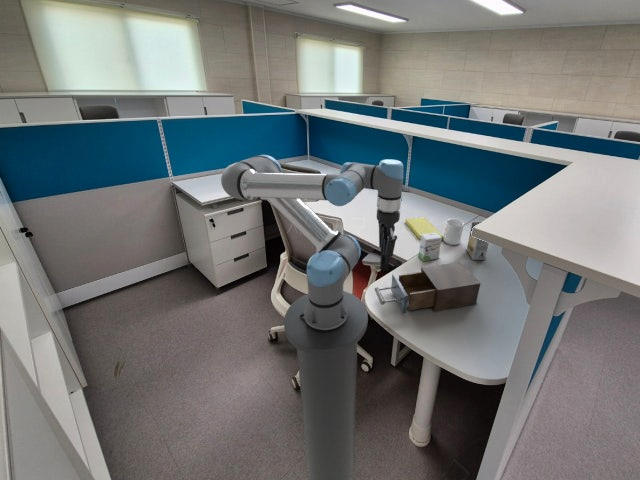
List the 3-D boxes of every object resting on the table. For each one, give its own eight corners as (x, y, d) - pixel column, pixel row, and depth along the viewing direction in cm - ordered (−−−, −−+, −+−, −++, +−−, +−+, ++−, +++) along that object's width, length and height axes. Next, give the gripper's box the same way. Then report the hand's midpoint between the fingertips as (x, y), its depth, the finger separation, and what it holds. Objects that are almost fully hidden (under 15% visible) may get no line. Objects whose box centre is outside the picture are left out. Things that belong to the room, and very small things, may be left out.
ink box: (423, 261, 141) (425, 239, 137) (418, 255, 146) (420, 234, 141) (438, 258, 144) (442, 237, 139) (433, 253, 148) (436, 232, 143)
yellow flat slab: (405, 222, 179) (421, 242, 158) (405, 219, 178) (422, 238, 157) (424, 220, 182) (442, 240, 161) (424, 217, 181) (443, 236, 160)
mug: (463, 245, 157) (466, 226, 152) (447, 246, 155) (450, 227, 150) (453, 234, 167) (456, 216, 163) (438, 235, 166) (441, 217, 161)
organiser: (434, 311, 111) (437, 290, 107) (418, 286, 124) (421, 267, 120) (475, 303, 116) (480, 283, 112) (456, 280, 129) (460, 261, 125)
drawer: (382, 316, 106) (383, 299, 103) (372, 292, 118) (373, 276, 115) (444, 306, 113) (447, 289, 109) (428, 284, 124) (431, 268, 121)
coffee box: (465, 250, 152) (471, 221, 146) (478, 250, 153) (484, 221, 146) (472, 260, 144) (479, 230, 137) (485, 260, 145) (492, 230, 138)
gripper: (406, 216, 92) (400, 279, 102) (393, 200, 103) (388, 258, 113) (383, 218, 90) (379, 282, 100) (372, 201, 101) (369, 260, 111)
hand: (384, 269), depth 107 cm, fingers closed
